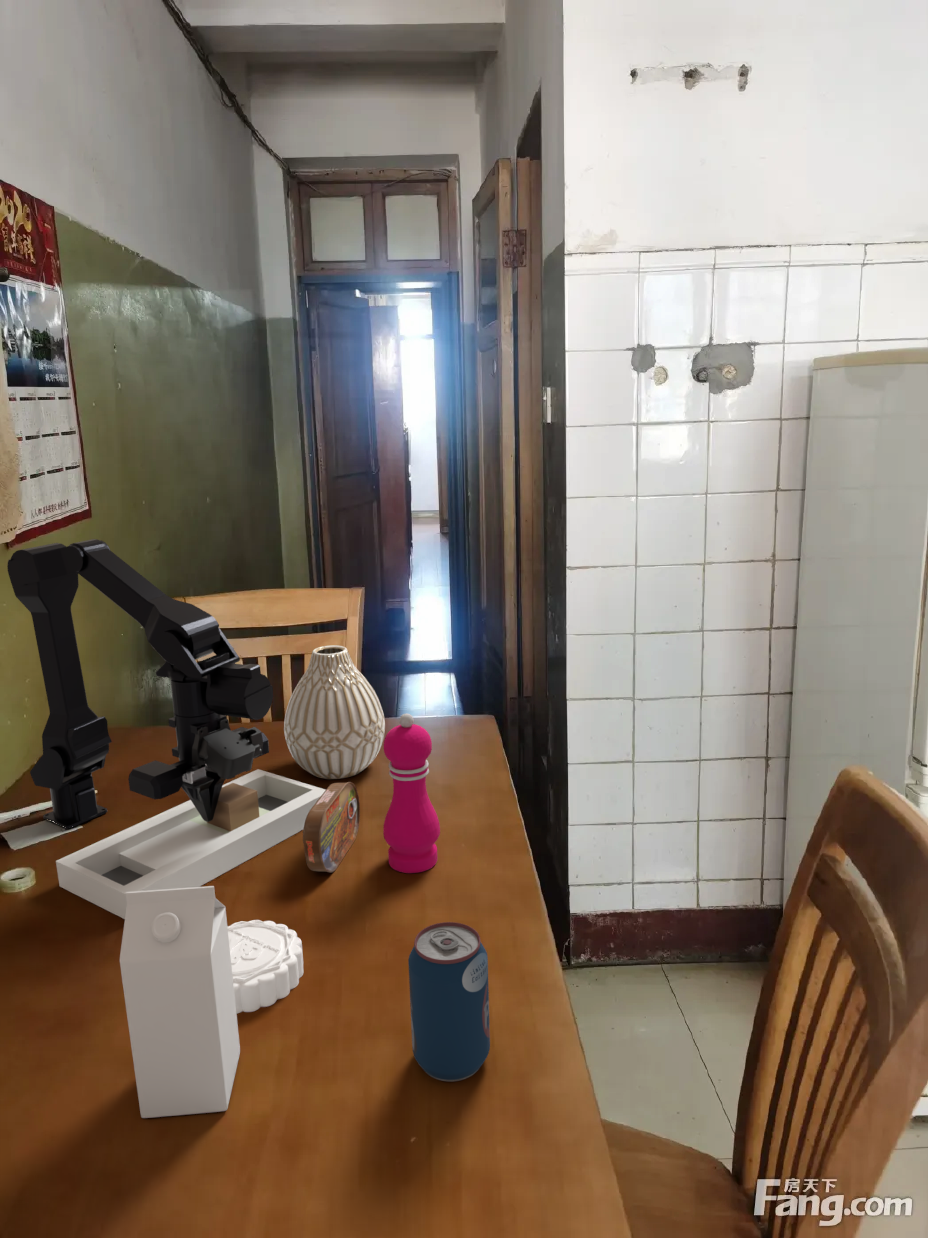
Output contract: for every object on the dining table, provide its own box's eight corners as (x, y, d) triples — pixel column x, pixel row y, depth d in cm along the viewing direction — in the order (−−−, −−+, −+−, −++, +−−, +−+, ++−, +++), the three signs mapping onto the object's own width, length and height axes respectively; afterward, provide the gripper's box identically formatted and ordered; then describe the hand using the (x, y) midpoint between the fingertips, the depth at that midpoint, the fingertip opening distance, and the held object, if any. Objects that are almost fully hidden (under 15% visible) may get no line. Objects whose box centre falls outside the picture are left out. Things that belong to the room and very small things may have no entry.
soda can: (505, 1066, 80) (503, 946, 77) (438, 1099, 76) (433, 975, 73) (463, 1022, 85) (459, 909, 82) (399, 1052, 82) (392, 934, 79)
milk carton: (161, 1060, 82) (137, 870, 77) (240, 1053, 82) (221, 865, 78) (140, 1120, 75) (112, 916, 70) (227, 1113, 75) (205, 910, 71)
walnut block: (206, 822, 123) (204, 795, 122) (235, 809, 127) (232, 782, 126) (231, 831, 120) (228, 804, 119) (259, 817, 124) (257, 790, 123)
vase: (308, 798, 135) (298, 670, 130) (274, 763, 148) (264, 646, 143) (403, 774, 142) (398, 652, 137) (363, 743, 156) (356, 631, 151)
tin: (325, 885, 110) (321, 822, 108) (301, 883, 111) (296, 820, 109) (363, 828, 125) (360, 772, 123) (341, 827, 125) (338, 771, 123)
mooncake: (160, 989, 92) (156, 958, 91) (249, 932, 101) (246, 903, 101) (241, 1033, 85) (238, 1000, 84) (328, 967, 95) (325, 936, 94)
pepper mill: (450, 853, 117) (445, 708, 112) (425, 880, 111) (418, 727, 106) (402, 843, 120) (394, 701, 115) (374, 869, 114) (365, 720, 109)
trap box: (59, 886, 112) (55, 861, 111) (260, 790, 138) (258, 769, 137) (132, 923, 103) (129, 896, 102) (331, 813, 129) (330, 791, 128)
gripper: (176, 744, 105) (189, 866, 108) (293, 700, 119) (301, 808, 123) (119, 727, 111) (133, 843, 115) (236, 687, 126) (246, 790, 129)
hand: (208, 820), depth 120 cm, fingers closed
